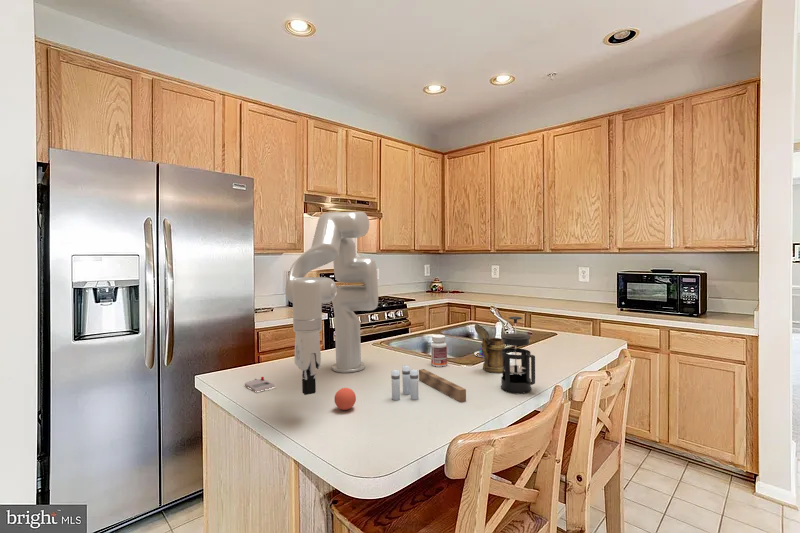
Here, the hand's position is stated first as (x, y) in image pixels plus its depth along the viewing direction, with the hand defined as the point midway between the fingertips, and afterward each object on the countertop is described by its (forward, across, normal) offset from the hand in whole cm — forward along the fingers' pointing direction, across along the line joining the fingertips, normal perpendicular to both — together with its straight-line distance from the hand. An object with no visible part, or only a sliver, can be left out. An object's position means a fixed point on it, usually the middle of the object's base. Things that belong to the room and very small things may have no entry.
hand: (309, 393), depth 109 cm
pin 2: (+6, +2, +31) cm, 32 cm away
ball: (+4, -1, +10) cm, 11 cm away
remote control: (+7, -34, -8) cm, 36 cm away
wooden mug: (+6, -9, +69) cm, 70 cm away
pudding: (+6, -27, +83) cm, 88 cm away
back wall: (+6, -1, +42) cm, 43 cm away
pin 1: (+6, -3, +31) cm, 32 cm away
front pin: (+6, -1, +26) cm, 27 cm away
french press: (+6, +11, +63) cm, 65 cm away
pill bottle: (+6, -25, +57) cm, 63 cm away
